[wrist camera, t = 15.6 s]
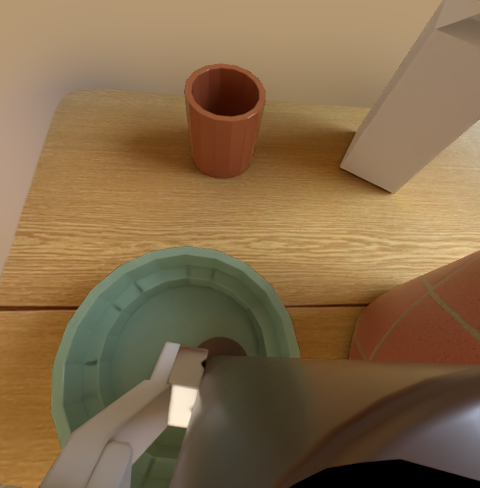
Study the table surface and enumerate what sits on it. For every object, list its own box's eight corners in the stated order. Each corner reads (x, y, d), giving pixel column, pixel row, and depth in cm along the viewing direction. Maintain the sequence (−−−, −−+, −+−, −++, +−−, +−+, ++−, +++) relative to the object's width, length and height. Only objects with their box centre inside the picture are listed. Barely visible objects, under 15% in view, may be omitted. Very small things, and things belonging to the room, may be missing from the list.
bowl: (48, 413, 20) (-12, 435, 15) (156, 244, 26) (142, 215, 21) (233, 512, 19) (243, 576, 14) (302, 312, 25) (328, 300, 20)
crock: (179, 162, 30) (169, 100, 23) (208, 121, 33) (207, 54, 26) (237, 188, 30) (246, 133, 22) (261, 143, 32) (276, 81, 25)
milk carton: (338, 168, 32) (490, -53, 15) (356, 130, 35) (503, -94, 17) (393, 195, 31) (621, -4, 14) (407, 155, 34) (614, -54, 17)
